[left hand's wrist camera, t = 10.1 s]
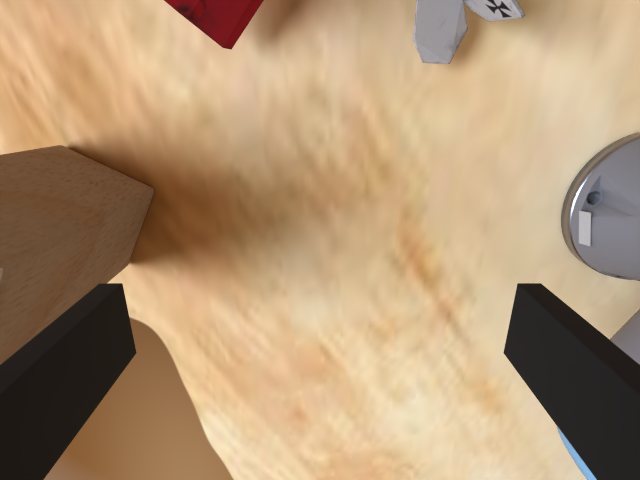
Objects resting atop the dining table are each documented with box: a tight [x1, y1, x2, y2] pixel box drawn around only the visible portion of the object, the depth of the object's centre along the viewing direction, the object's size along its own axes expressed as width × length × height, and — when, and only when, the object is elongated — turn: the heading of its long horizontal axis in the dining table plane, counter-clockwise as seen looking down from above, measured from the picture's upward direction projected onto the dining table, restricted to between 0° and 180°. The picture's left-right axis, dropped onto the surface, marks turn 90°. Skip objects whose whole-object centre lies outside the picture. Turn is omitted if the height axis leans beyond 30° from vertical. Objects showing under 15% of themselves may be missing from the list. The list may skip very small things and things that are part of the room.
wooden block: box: [0, 145, 154, 365], centre depth 30 cm, size 10×10×20 cm
